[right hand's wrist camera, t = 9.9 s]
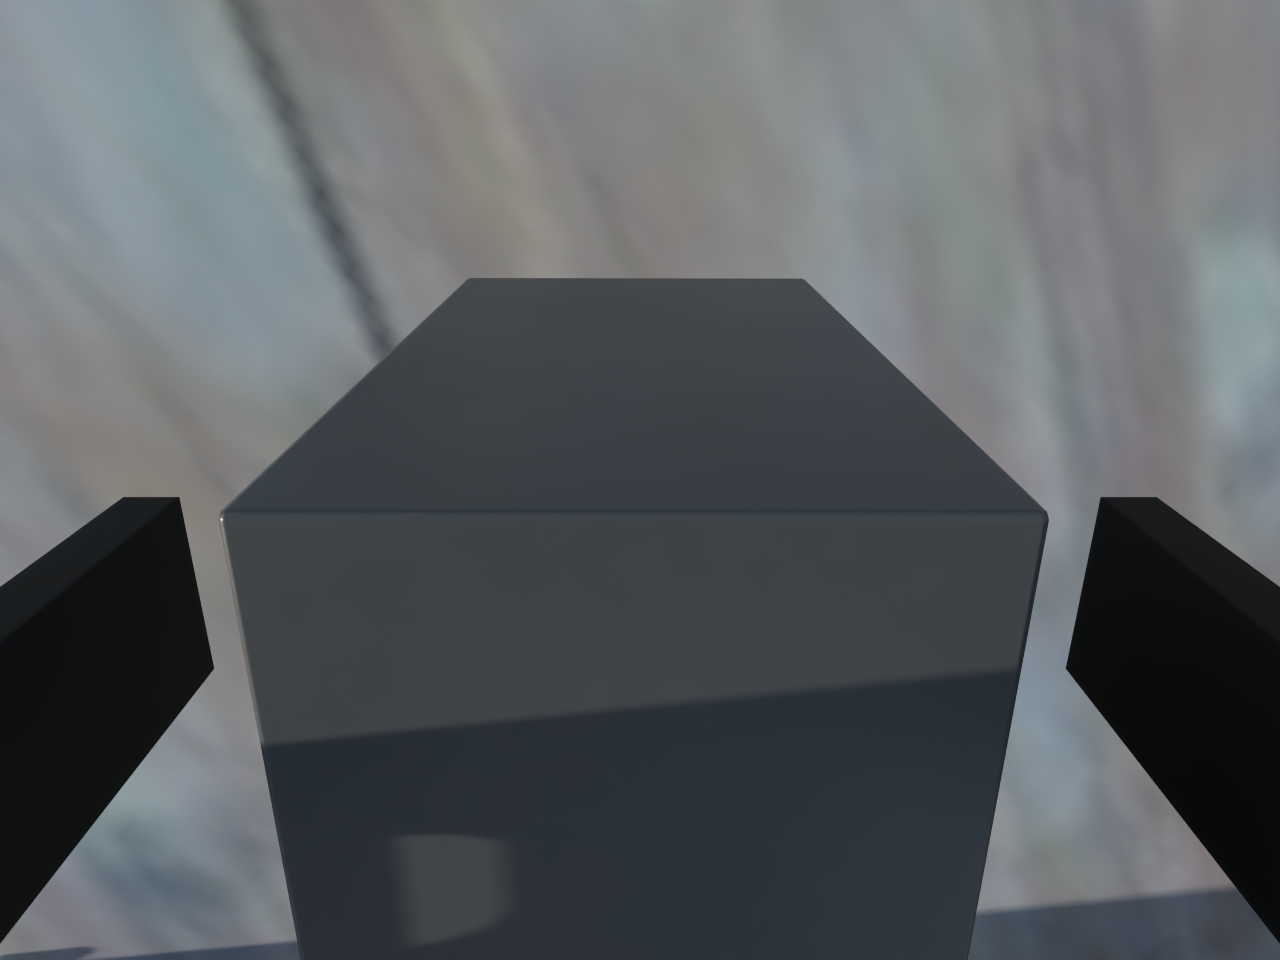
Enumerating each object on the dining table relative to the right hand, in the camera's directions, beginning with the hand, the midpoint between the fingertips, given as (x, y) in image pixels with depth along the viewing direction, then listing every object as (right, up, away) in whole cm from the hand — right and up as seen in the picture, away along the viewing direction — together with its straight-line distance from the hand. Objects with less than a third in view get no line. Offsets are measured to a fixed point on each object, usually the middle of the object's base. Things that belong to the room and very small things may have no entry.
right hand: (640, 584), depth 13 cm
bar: (0, -7, +6) cm, 9 cm away
